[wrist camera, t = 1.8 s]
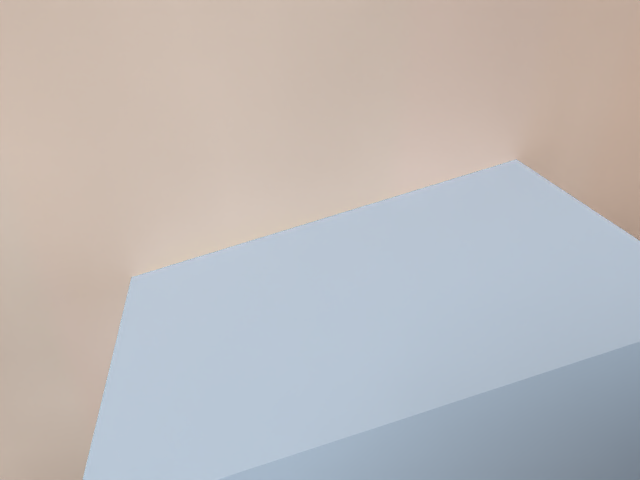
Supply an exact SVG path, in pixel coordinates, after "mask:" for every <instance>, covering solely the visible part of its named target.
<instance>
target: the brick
mask: <svg viewBox="0 0 640 480" xmlns="http://www.w3.org/2000/svg"><path fill="white" fill-rule="evenodd" d="M83 480H640V241H639V240H638V239H636V238H634V237H633V236H631V235H630V234H628V233H627V232H625V231H624V230H622V229H621V228H619V227H618V226H616V225H615V224H613V223H612V222H610V221H609V220H607V219H606V218H604V217H603V216H601V215H600V214H598V213H597V212H595V211H594V210H592V209H591V208H589V207H588V206H586V205H585V204H583V203H582V202H580V201H579V200H577V199H576V198H574V197H573V196H571V195H569V194H568V193H566V192H565V191H563V190H562V189H560V188H559V187H557V186H556V185H554V184H553V183H551V182H550V181H548V180H547V179H545V178H544V177H542V176H541V175H539V174H538V173H536V172H535V171H533V170H532V169H530V168H529V167H527V166H526V165H524V164H523V163H521V162H520V161H518V160H517V159H516V160H513V161H510V162H506V163H503V164H500V165H497V166H493V167H490V168H487V169H484V170H480V171H477V172H474V173H471V174H467V175H464V176H461V177H457V178H454V179H451V180H448V181H444V182H441V183H438V184H435V185H431V186H428V187H425V188H422V189H418V190H415V191H412V192H408V193H405V194H402V195H399V196H395V197H392V198H389V199H386V200H382V201H379V202H376V203H373V204H369V205H366V206H363V207H359V208H356V209H353V210H350V211H346V212H343V213H340V214H337V215H333V216H330V217H327V218H324V219H320V220H317V221H314V222H310V223H307V224H304V225H301V226H297V227H294V228H291V229H288V230H284V231H281V232H278V233H275V234H271V235H268V236H265V237H262V238H258V239H255V240H252V241H248V242H245V243H242V244H239V245H235V246H232V247H229V248H226V249H222V250H219V251H216V252H213V253H209V254H206V255H203V256H199V257H196V258H193V259H190V260H186V261H183V262H180V263H177V264H173V265H170V266H167V267H164V268H160V269H157V270H154V271H150V272H147V273H144V274H141V275H137V276H134V277H131V282H130V286H129V290H128V294H127V298H126V302H125V306H124V311H123V315H122V319H121V323H120V327H119V331H118V335H117V340H116V344H115V348H114V352H113V356H112V360H111V364H110V369H109V373H108V377H107V381H106V385H105V389H104V393H103V398H102V402H101V406H100V410H99V414H98V418H97V422H96V427H95V431H94V435H93V439H92V443H91V447H90V451H89V456H88V460H87V464H86V468H85V472H84V476H83Z"/></svg>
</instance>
